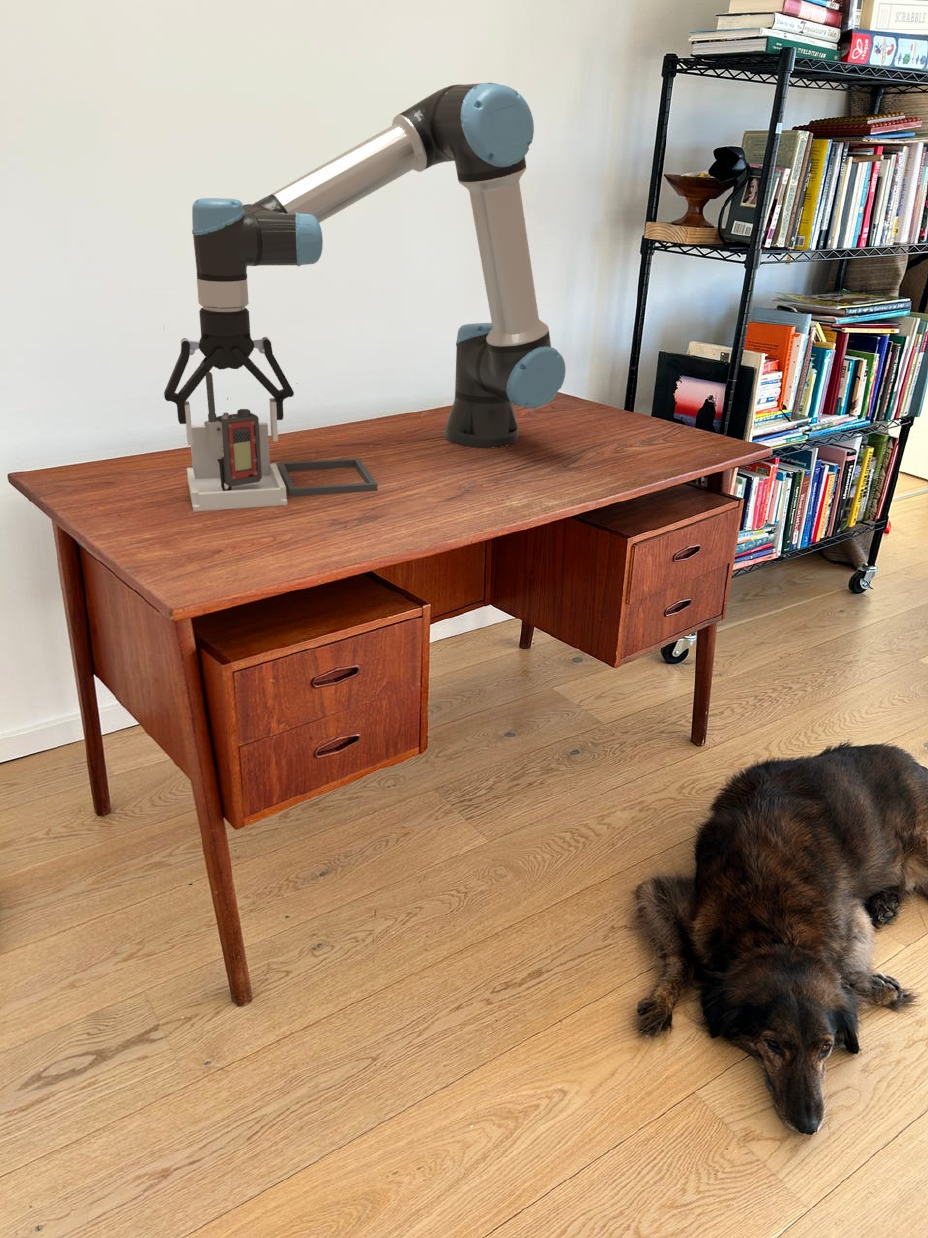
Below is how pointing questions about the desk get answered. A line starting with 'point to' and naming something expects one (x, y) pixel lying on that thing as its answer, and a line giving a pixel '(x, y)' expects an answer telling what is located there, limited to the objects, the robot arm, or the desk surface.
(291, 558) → the desk surface
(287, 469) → the grey square frame
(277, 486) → the dock
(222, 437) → the walkie-talkie
